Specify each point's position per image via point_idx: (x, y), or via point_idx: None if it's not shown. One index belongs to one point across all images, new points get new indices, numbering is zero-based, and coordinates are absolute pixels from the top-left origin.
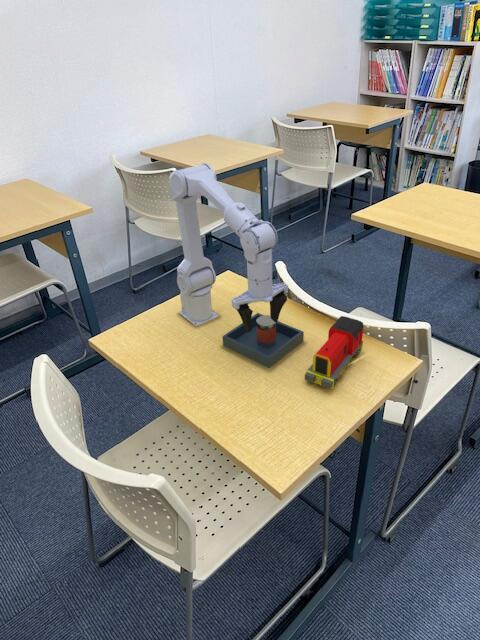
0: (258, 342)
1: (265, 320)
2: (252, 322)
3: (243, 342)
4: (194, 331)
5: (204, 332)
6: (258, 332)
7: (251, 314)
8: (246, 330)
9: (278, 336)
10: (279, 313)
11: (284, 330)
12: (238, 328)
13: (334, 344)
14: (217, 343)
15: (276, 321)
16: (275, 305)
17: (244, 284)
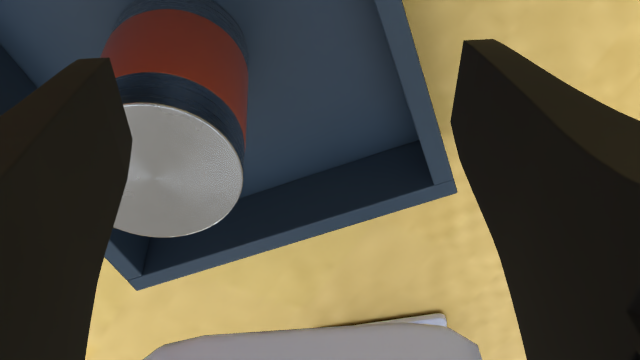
0: (248, 63)
1: (161, 177)
2: (196, 238)
3: (321, 120)
4: (470, 289)
5: (437, 269)
6: (245, 111)
7: (624, 170)
8: (252, 200)
9: None
10: (10, 112)
11: (10, 90)
12: (321, 217)
13: None
14: None
15: (90, 60)
16: (28, 242)
17: None
